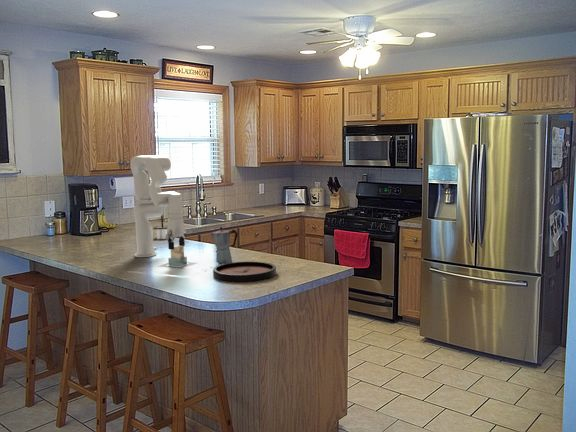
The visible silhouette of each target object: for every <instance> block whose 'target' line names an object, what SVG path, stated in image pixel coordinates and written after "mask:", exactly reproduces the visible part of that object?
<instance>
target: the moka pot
mask: <svg viewBox="0 0 576 432" xmlns="http://www.w3.org/2000/svg"><path fill="white" fill-rule="evenodd" d="M233 234H235V235H234V239H233V244H231V245H230V243H231V242H230V241H231V235H233ZM238 235H239V234H238V232H237V230H235V229H232V230H225V229H223V227H222V226H220V227H219V230H217V231H213V232H210V234H209V236H211V238H212V239H213V242H214V246H215V247H216V248H215V249H216V251H215V253H216V258H215V262H217V263H218V265H222V264H226V263H232V262H233V259H232V254H231V250H230V249H231V248H230V247H235V246H236V243H237V238H238Z"/></svg>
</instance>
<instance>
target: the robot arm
mask: <svg viewBox="0 0 576 432" xmlns="http://www.w3.org/2000/svg"><path fill="white" fill-rule="evenodd" d="M171 165H172V163H171V160H170V158H169V157H167V156H165V155H158V154H155V155H154V154H153V155H135V156H132V158H131V160H130V170H131V173H132V176H133V187H134V197H135V200H137V201H139V202H140V201H141V202H140V203H137V204H134V206H133V208H132V212H133V216H134V221H135V222H134V225H135V237H136V238H135V239H136V252H135V253H134V257H136V258H150V257H155V256H156V255H157V252H155V251H158V247H157V246H154V238H153V237H154V235H153V234H154V233H153V226H152V223H151V222H150V221H149V219H157V218H161V216H162V215H164V214H163V213H164V207H167V208H168V209H167V211H168V212H167V214H168V215H167V216H168V219H167V225H166V226H167V234H166V240H167V242H168V243H167V244H168V250H171V249H172V250H173V249H174V246H175V242H174V239H177V238H179V239H178V246H184V247H185V242H186V241H185V239H186V234H187V229H185V224H184V215H183V214H184V212H183V210H184V209H183V195H182V193H180V192H176V191H163V190H162V188H161V185H163V184H164V183H165V182H166V181H167V179H168V175H167V174H166V172H168V171H170V169H171V167H172V166H171ZM146 171H147V172H146ZM149 178H150V179H149ZM150 180H151V181H150ZM143 201H151V202H143Z"/></svg>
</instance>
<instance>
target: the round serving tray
mask: <svg viewBox="0 0 576 432" xmlns="http://www.w3.org/2000/svg"><path fill="white" fill-rule="evenodd" d="M212 275H213V276H212V277H213V279H215V280H217V281H219V282H225V283H238V284H239V283H241V284H243V283H256V282H262V281H268V280H271V279H273V278H275V277H276V276H277V266H276V265H275V264H272V263H270V262H264V261H254V260H253V261H232V262H231V263H226V264H218V265H216V266H214V268H213V269H212Z"/></svg>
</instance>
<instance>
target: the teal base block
mask: <svg viewBox="0 0 576 432" xmlns="http://www.w3.org/2000/svg"><path fill="white" fill-rule="evenodd" d="M187 262H188V258H187V256H185V255H184V257H182V258H171V257H168V263H169V266H182V265H185V264H187Z"/></svg>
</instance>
